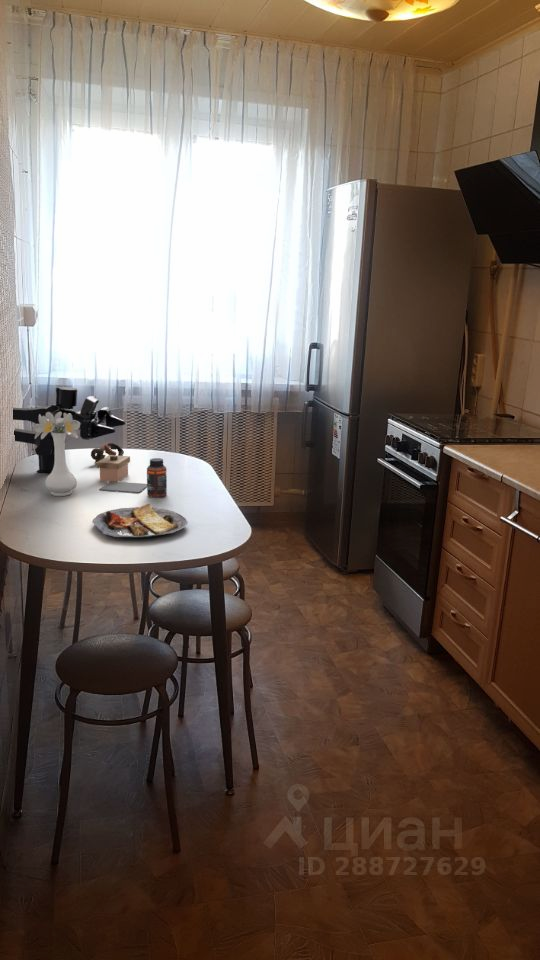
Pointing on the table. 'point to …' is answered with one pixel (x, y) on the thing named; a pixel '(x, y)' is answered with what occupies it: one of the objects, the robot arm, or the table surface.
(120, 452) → the dark brown looped piece
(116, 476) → the dish
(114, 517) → the food plate
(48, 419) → the flower vase
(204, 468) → the table surface
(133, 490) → the mat
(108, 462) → the lid
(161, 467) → the supplement bottle
